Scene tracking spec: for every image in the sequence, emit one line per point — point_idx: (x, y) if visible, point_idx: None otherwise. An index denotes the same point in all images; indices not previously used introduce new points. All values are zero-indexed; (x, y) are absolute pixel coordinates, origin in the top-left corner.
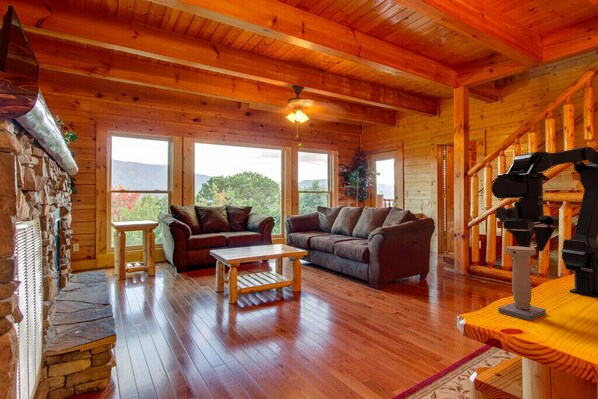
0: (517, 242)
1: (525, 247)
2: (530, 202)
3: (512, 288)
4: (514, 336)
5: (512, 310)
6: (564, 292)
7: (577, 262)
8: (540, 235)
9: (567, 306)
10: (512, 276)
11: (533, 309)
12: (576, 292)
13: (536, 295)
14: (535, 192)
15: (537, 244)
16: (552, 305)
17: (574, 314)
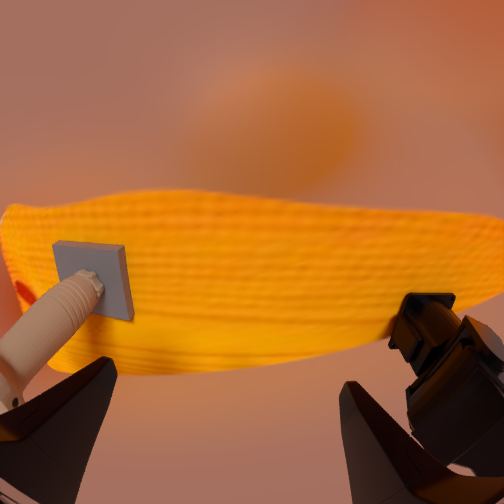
0: (38, 397)
1: (5, 410)
2: None
3: (48, 290)
4: (20, 302)
5: (62, 274)
6: (400, 283)
7: (425, 389)
8: (376, 490)
9: (242, 331)
10: (27, 310)
11: (103, 303)
12: (402, 309)
13: (304, 240)
14: None
15: (358, 417)
16: (220, 306)
17: (187, 351)
